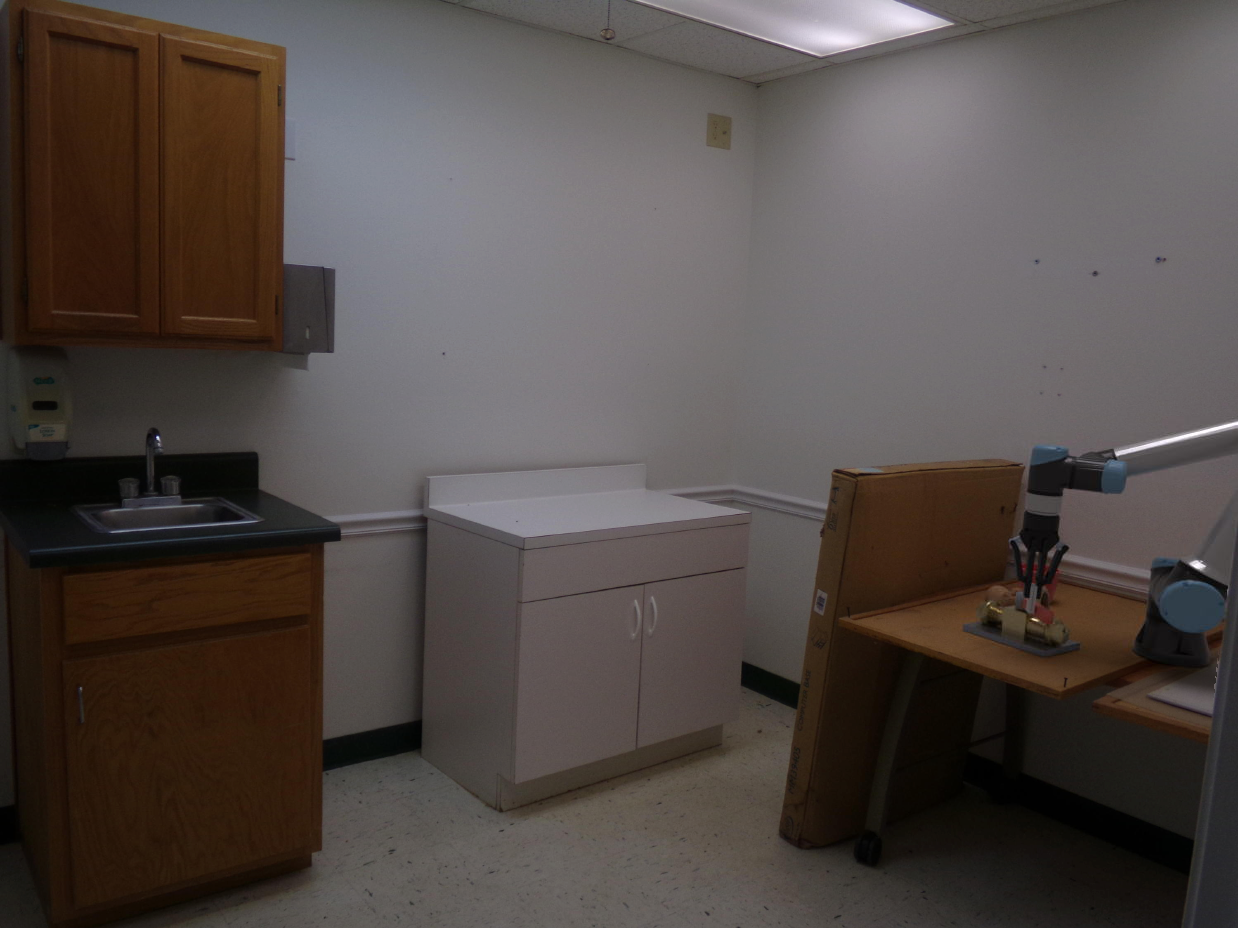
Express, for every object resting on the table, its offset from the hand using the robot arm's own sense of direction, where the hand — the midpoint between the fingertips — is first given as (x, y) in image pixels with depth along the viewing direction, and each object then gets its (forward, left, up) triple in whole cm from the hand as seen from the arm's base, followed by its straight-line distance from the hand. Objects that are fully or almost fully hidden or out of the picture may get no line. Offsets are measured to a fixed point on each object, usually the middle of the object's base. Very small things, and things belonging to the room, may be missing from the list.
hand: (1029, 611), depth 211 cm
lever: (+1, -3, -1) cm, 3 cm away
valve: (+6, -6, -9) cm, 12 cm away
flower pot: (+26, -43, -9) cm, 51 cm away
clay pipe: (+16, -21, -10) cm, 28 cm away
